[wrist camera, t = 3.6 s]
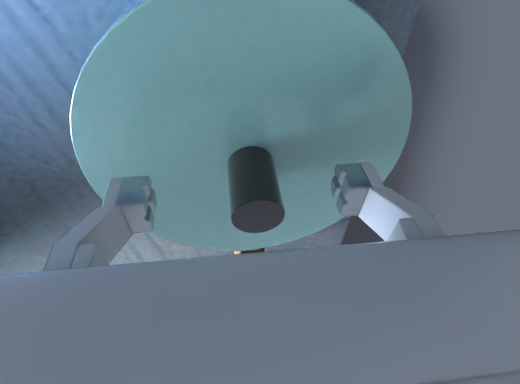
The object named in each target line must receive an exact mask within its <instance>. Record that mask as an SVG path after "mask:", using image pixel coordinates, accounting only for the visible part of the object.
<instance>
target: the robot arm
mask: <svg viewBox="0 0 520 384" xmlns="http://www.w3.org/2000/svg"><path fill="white" fill-rule="evenodd" d="M334 171H335V174H336V175H335V176H334V177H333V178H332V181H331V191H332V195H333V198H334V199H336V200H337V204H336V206H337V209H338V211H339V214H340V216H358V217H360V218H361V219H362V220H363V221H364V222H365V223H366V224H367V225H368V226H369V227H371V228H372V229H373V230H374V231H375V232H376V233H377V234H378V235H379V236H380V237H382V238H383V239H384V240H385V241H384V242H372V243H361V244H350V245H338V246H326V247H315V248H303V249H292V250H280V251H269V252H257V253H246V254H235V255H223V256H212V257H200V258H189V259H177V260H166V261H154V262H143V263H131V264H120V265H108V264H109V263H110V262H111V261H112V259H113V258H114V257H115V256H116V254H117V253H118V252H119V251H120V249H121V248H122V247H123V246H124V245H125V243H126V242H127V241H128V240H129V238H130V237H131V236H132V235H133V234H132V233H140V232H149V231H153V227H154V220H155V218H154V215H153V213H154V212H155V211H156V206H157V202H156V194H155V190H154V189H153V188H151V185H152V181H151V179H150V177H149V176H135V177H116V178H111V179H110V181H109V184H108V187H107V191H106V194H105V197H104V200H103V204H102V207H97V208H96V209H95V210H94V211H93V212H92V213H90V214H89V215H88V216H87V217H86V218H85V219H83V220H82V221H81V222H80V223H79V224H78V225H76V226H75V227H74V228H73V229H72V230H71V231H69V232H68V233H67V234H66V235H65V236H64V237H62V238H61V239H60V240H59V241H58V242H56V243H55V244H54V245H53V247H52V249H51V252H50V254H49V257H48V259H47V262H46V264H45V266H44V269H43V271H40V272H29V273H17V274H6V275H0V384H520V230H509V231H498V232H487V233H476V234H464V235H452V236H445V234H444V233H443V231H442V229H441V228H440V226H439V225H438V223H437V222H436V220H435V218H434V217H433V215H431V214H430V213H428V212H426V211H425V210H423V209H422V208H420V207H418V206H417V205H416V204H414V203H412V202H411V201H409V200H408V199H406V198H405V197H403V196H401V195H400V194H398V193H397V192H395V191H394V190H392V189H390V188H389V187H384V185H383V183H382V181H381V179H380V177H379V176H378V174H377V172H376V170H375V168H374V167H373V165H372V163H371V162H360V163H348V164H337V165H336V167H335V170H334Z"/></svg>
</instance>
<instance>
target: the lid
mask: <svg viewBox="0 0 520 384" xmlns="http://www.w3.org/2000/svg"><path fill="white" fill-rule="evenodd" d="M411 116H412V89H411V84H410V79H409V75H408V71H407V68H406V65H405V63H404V61H403V58H402V56H401V54H400V51H399V49H398V48H397V46H396V45H395V43H394V42H393V40H392V39H391V37H390V36H389V34H388V33H387V31H386V30H385V29H384V28H383V27H382V26H381V25H380V24H379V23H378V22H377V21H376V20H375V19H374V18H373V17H372V16H371V15H370V14H369V13H368V12H367V11H366V10H365V9H364V8H363V7H361V6H360V5H358V4H357V3H356V2H354V1H353V0H142V1H140V2H138V3H137V4H135V5H134V6H133V7H132V8H130V9H129V10H128V11H127V12H126V13H124V14H123V15H122V16H121V17H120V18H118V19H117V20H116V21H115V22H114V23H113V24H112V25H111V26H110V27H109V28H108V30H107V31H106V32H105V33H104V34H103V36H102V37H101V38H100V39H99V40H98V41H97V43H96V44H95V46H94V48H93V49H92V51H91V53H90V55H89V56H88V58H87V60H86V61H85V63H84V65H83V67H82V68H81V70H80V73H79V76H78V79H77V82H76V85H75V87H74V90H73V94H72V101H71V108H70V134H71V139H72V143H73V148H74V152H75V155H76V158H77V160H78V163H79V165H80V167H81V170H82V172H83V173H84V175H85V177H86V178H87V180H88V182H89V183H90V185H91V186H92V188H93V189H94V190H95V191H96V193H97V194H98V195H99V196H100V198H101V199H102V200H104V197H105V194H106V191H107V187H108V184H109V181H110V179H111V178H116V177H135V176H149V177H150V179H151V181H152V185H151V188H153V189H154V190H155V194H156V202H157V206H156V211H155V212H154V213H153V215H154V218H155V220H154V227H153V231H149V233H151V234H153V235H155V236H158V237H160V238H163V239H166V240H169V241H172V242H175V243H179V244H183V245H187V246H192V247H198V248H205V249H214V250H248V249H257V248H265V247H270V246H276V245H280V244H284V243H288V242H291V241H294V240H297V239H300V238H303V237H306V236H309V235H311V234H313V233H316V232H318V231H320V230H322V229H324V228H326V227H328V226H330V225H332V224H334V223H336V222H337V221H339V220H341V219H342V218H344V217H345V216H340V214H339V211H338V209H337V206H336V204H337V200H336V199H334V198H333V195H332V191H331V181H332V178H333V177H334V176H335V175H336V174H335V171H334V170H335V167H336V165H337V164H348V163H360V162H371V163H372V165H373V167H374V168H375V170H376V172H377V174H378V176H379V177H380V179H381V181H382V183H383V182H384V180H385V179H386V178H387V176H388V175H389V174H390V172H391V171H392V169H393V168H394V166H395V164H396V162H397V161H398V159H399V157H400V155H401V152H402V150H403V148H404V145H405V143H406V140H407V136H408V133H409V129H410V125H411Z"/></svg>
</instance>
